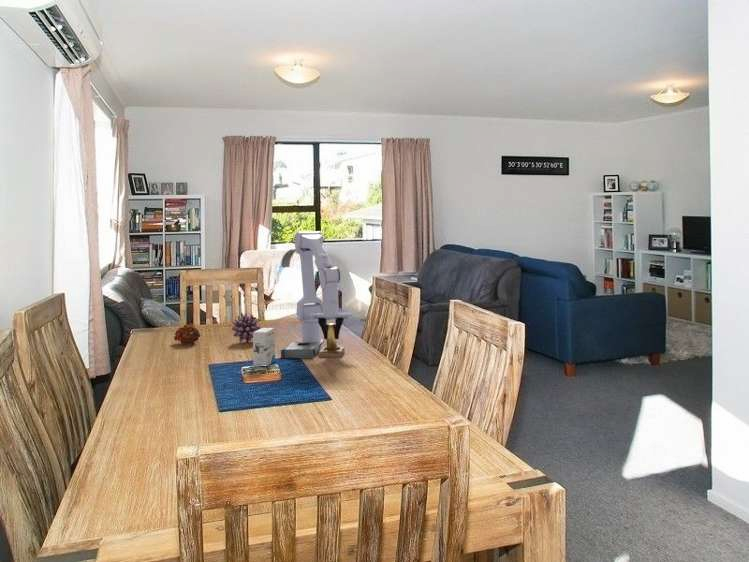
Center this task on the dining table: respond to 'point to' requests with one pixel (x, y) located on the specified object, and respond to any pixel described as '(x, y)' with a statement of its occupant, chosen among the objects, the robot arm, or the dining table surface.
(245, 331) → the purple spiky ball
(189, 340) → the brown knobbly lump
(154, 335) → the dining table surface
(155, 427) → the dining table surface
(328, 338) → the yellow rectangular block
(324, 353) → the rack
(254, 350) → the ink box
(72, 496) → the dining table surface
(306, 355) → the socket block
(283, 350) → the drift key
